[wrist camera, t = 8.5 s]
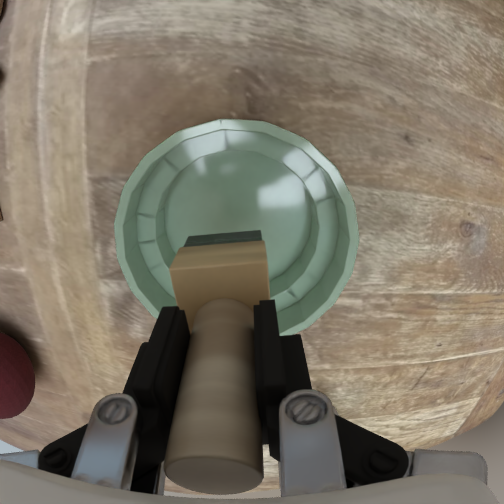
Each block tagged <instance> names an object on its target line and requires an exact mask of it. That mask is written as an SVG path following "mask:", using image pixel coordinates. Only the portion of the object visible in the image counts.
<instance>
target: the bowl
mask: <svg viewBox="0 0 504 504" xmlns="http://www.w3.org/2000/svg"><path fill="white" fill-rule="evenodd" d="M114 230H115V242H116V252H117V259H118V262H119V265H120V267H121V269H122V272H123V274H124V276H125V279H126V281H127V283H128V285H129V287H130V290H131V291H132V293H133V294H134V295H135V296H136V297H137V298H138V300H139V301H140V302H141V303H142V304H143V305H144V307H145V308H146V309H147V310H148V311H149V312H150V314H151V315H152V316H154V317H155V318H156V319H157V318H158V316H159V313H160V311H161V308H162V307H164V306H177V303H176V299H175V295H174V290H173V286H172V282H171V277H170V272H169V268H170V266H171V264H172V262H173V260H174V258H175V256H176V253H177V251H178V249H179V248H180V247H183V246H184V244H185V242H186V240H187V238H188V236H196V235H207V234H218V233H230V232H241V231H253V230H261V233H262V240H263V241H265V245H266V252H267V260H268V273H269V287H270V300H272V299H275V304H276V312H277V319H278V327H279V334H280V336H284V335H294V334H296V333H298V332H300V331H302V330H304V329H306V328H308V327H309V326H311V325H312V324H313V323H314V322H315V321H316V320H317V319H318V318H319V317H321V316H322V315H323V314H324V313H325V312H326V311H327V310H328V309H329V308H330V307H332V306H333V305H334V303H335V302H336V300H337V299H338V297H339V295H340V294H341V292H342V290H343V289H344V287H345V285H346V284H347V282H348V280H349V278H350V277H351V275H352V272H353V268H354V263H355V259H356V254H357V249H358V245H359V231H358V223H357V215H356V208H355V203H354V200H353V198H352V196H351V194H350V192H349V190H348V188H347V186H346V184H345V182H344V180H343V178H342V176H341V174H340V172H339V171H338V169H337V168H336V166H335V165H334V164H333V163H332V162H331V161H330V160H329V159H327V158H326V157H325V156H324V155H323V154H322V153H321V152H320V151H319V150H318V149H317V148H316V147H315V146H313V145H312V144H311V143H310V142H309V141H308V140H307V139H305V138H303V137H301V136H299V135H297V134H294V133H292V132H290V131H287V130H285V129H283V128H280V127H278V126H275V125H273V124H271V123H268V122H265V121H261V120H249V119H232V118H225V119H217V120H214V121H210V122H206V123H203V124H199V125H196V126H192V127H189V128H186V129H183V130H180V131H177V132H176V133H175V134H173V135H172V136H170V137H169V138H167V139H166V140H165V141H163V142H162V143H161V144H159V145H158V146H156V147H155V148H154V149H152V150H151V151H150V152H148V153H147V154H146V155H145V156H144V157H143V159H142V160H141V161H140V163H139V164H138V166H137V167H136V169H135V170H134V172H133V173H132V175H131V176H130V178H129V179H128V181H127V182H126V184H125V185H124V187H123V189H122V193H121V197H120V201H119V205H118V209H117V213H116V217H115V221H114Z"/></svg>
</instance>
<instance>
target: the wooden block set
mask: <svg viewBox="0 0 504 504" xmlns="http://www.w3.org/2000/svg"><path fill="white" fill-rule="evenodd" d="M3 1H4V0H0V16H1V12H2V6H3ZM2 220H3V218H2V214H1V210H0V221H2Z"/></svg>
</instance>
